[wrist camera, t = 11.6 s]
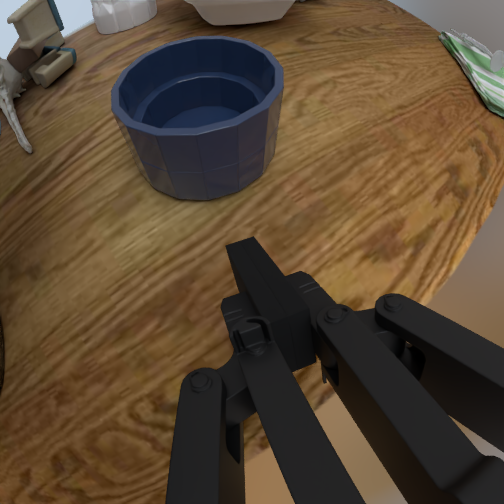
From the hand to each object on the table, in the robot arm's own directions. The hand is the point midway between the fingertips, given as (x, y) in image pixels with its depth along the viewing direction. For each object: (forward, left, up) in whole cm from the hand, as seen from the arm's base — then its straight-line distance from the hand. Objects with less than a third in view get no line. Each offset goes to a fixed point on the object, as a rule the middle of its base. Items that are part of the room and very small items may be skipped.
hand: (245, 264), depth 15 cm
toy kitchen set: (+1, +45, +2) cm, 45 cm away
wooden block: (+1, +41, +1) cm, 41 cm away
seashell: (-4, +39, -6) cm, 40 cm away
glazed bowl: (+7, +11, -6) cm, 14 cm away
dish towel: (+58, -11, -5) cm, 59 cm away
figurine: (+58, -10, 0) cm, 59 cm away
